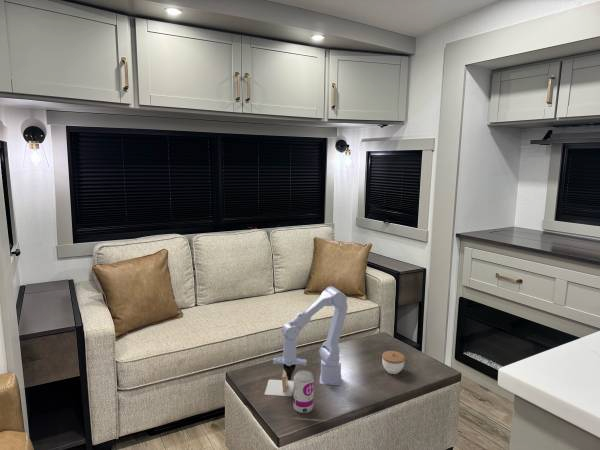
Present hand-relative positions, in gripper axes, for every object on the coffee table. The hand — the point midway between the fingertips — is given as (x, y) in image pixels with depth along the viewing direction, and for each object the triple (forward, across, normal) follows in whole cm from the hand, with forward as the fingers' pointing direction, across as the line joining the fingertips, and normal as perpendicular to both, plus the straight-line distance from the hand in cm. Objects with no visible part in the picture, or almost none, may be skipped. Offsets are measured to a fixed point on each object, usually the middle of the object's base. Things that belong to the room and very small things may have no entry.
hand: (289, 378), depth 181 cm
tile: (+4, -2, 0) cm, 5 cm away
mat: (+5, -4, 0) cm, 7 cm away
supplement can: (+5, +7, -13) cm, 16 cm away
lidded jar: (+5, +48, +21) cm, 53 cm away
